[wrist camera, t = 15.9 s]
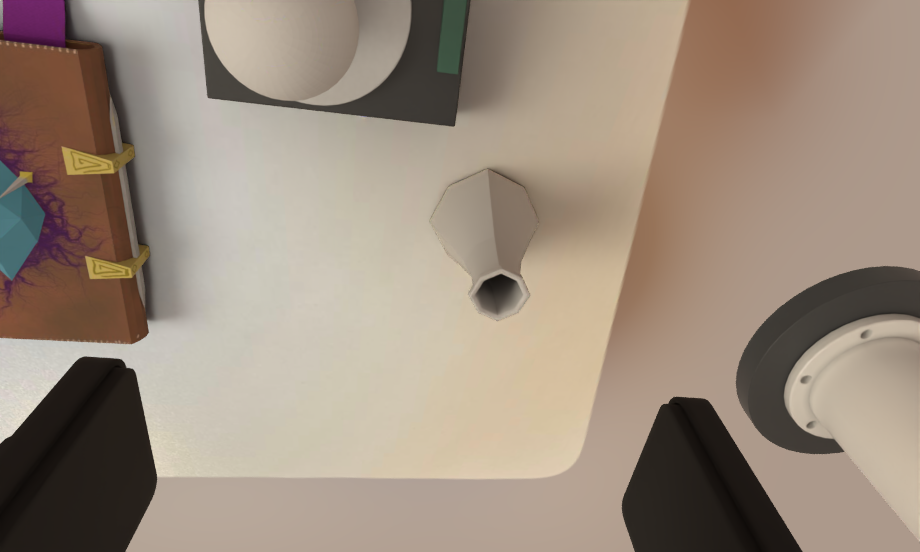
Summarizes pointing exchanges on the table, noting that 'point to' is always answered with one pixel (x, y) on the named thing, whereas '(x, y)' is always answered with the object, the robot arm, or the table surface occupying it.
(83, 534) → the robot arm
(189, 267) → the table surface
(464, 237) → the flask
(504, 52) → the table surface
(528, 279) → the table surface
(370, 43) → the scale
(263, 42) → the light bulb
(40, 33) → the book
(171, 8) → the table surface
